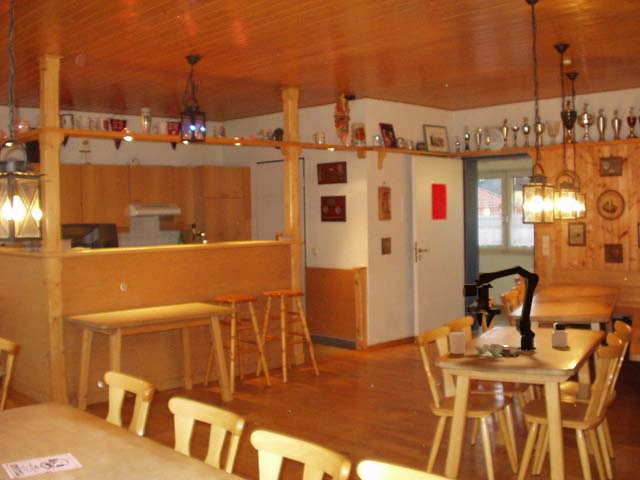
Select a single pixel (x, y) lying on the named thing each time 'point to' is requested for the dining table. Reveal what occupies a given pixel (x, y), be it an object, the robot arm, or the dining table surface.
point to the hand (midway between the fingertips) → (484, 327)
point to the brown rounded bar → (513, 350)
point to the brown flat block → (506, 352)
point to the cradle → (492, 353)
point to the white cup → (457, 342)
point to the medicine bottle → (559, 335)
